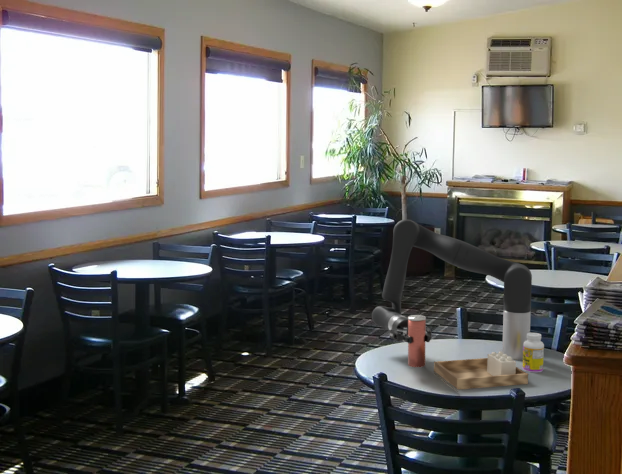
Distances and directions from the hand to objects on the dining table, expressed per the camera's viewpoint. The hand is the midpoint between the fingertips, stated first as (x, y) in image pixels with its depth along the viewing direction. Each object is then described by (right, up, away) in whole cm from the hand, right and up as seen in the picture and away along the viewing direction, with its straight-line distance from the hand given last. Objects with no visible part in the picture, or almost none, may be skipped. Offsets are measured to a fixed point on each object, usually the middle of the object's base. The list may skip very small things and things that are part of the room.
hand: (419, 339), depth 260 cm
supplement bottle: (+39, -12, +9) cm, 42 cm away
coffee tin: (0, -9, +4) cm, 9 cm away
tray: (+20, -13, +1) cm, 23 cm away
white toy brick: (+27, -12, +2) cm, 29 cm away
